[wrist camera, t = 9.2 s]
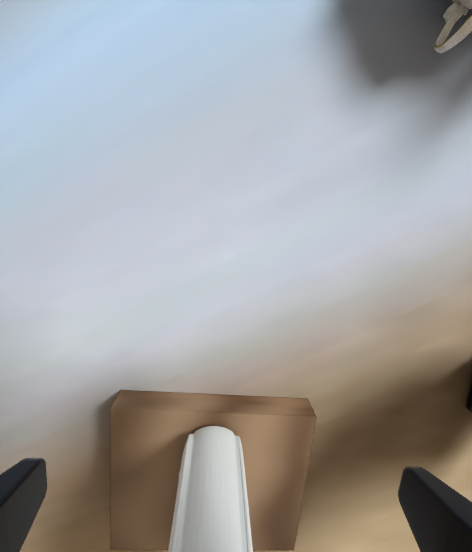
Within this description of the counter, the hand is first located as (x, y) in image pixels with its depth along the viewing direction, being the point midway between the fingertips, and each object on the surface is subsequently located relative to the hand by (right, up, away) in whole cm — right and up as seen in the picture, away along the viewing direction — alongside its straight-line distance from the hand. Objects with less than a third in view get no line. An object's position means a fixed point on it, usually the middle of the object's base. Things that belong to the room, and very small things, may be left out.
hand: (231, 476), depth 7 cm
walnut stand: (-2, -10, +15) cm, 18 cm away
